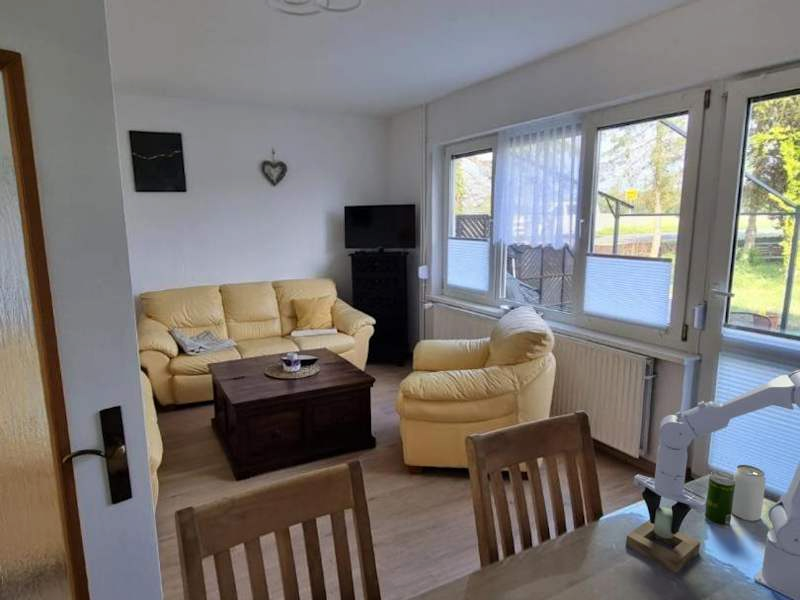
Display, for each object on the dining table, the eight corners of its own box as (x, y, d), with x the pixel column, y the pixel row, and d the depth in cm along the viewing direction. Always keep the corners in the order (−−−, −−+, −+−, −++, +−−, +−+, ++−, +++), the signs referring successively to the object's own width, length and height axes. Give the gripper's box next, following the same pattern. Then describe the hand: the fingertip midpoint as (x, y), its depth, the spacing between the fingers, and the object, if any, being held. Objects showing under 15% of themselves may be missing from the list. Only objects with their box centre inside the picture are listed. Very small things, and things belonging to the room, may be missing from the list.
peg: (677, 534, 111) (679, 513, 110) (668, 540, 108) (671, 519, 108) (658, 525, 114) (661, 505, 113) (650, 531, 111) (652, 511, 111)
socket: (698, 552, 111) (700, 542, 110) (676, 572, 104) (677, 561, 104) (649, 527, 119) (650, 518, 119) (625, 545, 113) (626, 535, 112)
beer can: (733, 522, 122) (739, 476, 120) (725, 530, 119) (731, 484, 117) (709, 512, 126) (714, 468, 124) (700, 519, 123) (706, 474, 121)
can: (734, 519, 123) (740, 474, 122) (725, 505, 130) (731, 462, 128) (764, 524, 122) (771, 478, 120) (754, 509, 128) (760, 466, 126)
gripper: (714, 478, 105) (707, 536, 108) (646, 452, 117) (641, 506, 119) (700, 488, 101) (692, 549, 103) (631, 461, 113) (625, 516, 115)
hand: (664, 526), depth 111 cm, fingers closed on peg, 4 cm apart
